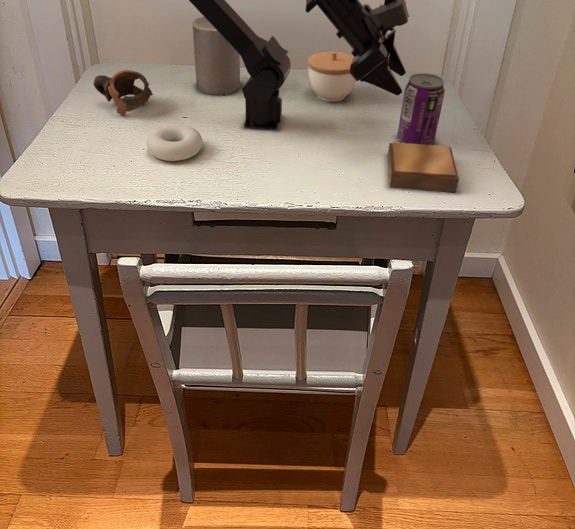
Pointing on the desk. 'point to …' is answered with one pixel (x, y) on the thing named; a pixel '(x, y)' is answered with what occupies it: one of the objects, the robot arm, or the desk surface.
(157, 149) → the donut
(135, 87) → the pottery mug
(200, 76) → the pillar candle
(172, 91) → the desk surface
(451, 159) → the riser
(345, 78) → the trinket box
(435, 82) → the beverage can
